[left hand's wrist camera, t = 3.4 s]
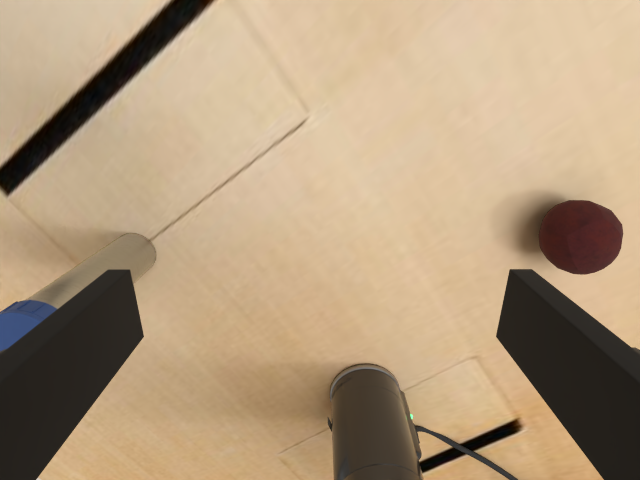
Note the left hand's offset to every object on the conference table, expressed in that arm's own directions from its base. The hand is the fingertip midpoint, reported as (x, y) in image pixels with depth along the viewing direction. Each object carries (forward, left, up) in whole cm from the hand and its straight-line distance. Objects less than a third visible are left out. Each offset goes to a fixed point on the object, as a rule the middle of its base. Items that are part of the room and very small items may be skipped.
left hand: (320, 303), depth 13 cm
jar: (+10, -22, -28) cm, 37 cm away
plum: (+6, +27, -28) cm, 39 cm away
